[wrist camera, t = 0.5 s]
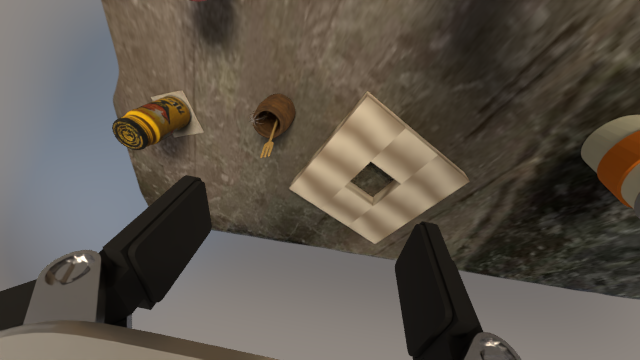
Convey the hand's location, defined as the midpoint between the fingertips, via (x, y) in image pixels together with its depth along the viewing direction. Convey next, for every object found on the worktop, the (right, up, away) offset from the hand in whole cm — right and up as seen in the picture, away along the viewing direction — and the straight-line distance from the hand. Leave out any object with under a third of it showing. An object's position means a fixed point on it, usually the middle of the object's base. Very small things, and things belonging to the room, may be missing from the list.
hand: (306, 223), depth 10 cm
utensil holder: (-7, +15, +32) cm, 36 cm away
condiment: (-27, +15, +36) cm, 48 cm away
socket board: (+11, +3, +37) cm, 39 cm away
